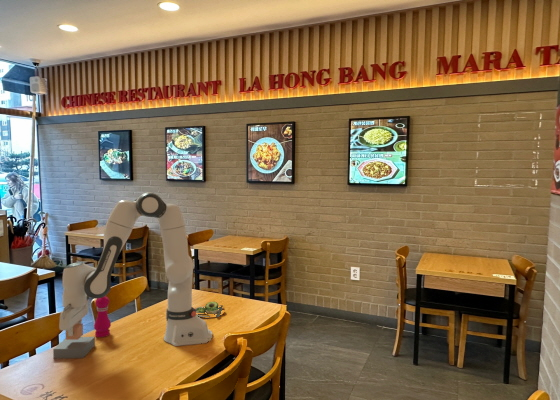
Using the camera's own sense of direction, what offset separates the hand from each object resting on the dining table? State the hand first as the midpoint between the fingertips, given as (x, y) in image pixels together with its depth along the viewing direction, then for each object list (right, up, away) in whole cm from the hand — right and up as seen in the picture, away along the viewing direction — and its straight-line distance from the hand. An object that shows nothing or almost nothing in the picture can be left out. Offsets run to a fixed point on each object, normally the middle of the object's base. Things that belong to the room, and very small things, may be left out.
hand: (74, 332), depth 165 cm
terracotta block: (0, -2, 0) cm, 2 cm away
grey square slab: (0, -9, 0) cm, 9 cm away
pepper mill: (+3, -8, +19) cm, 21 cm away
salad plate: (+49, -7, +52) cm, 71 cm away
